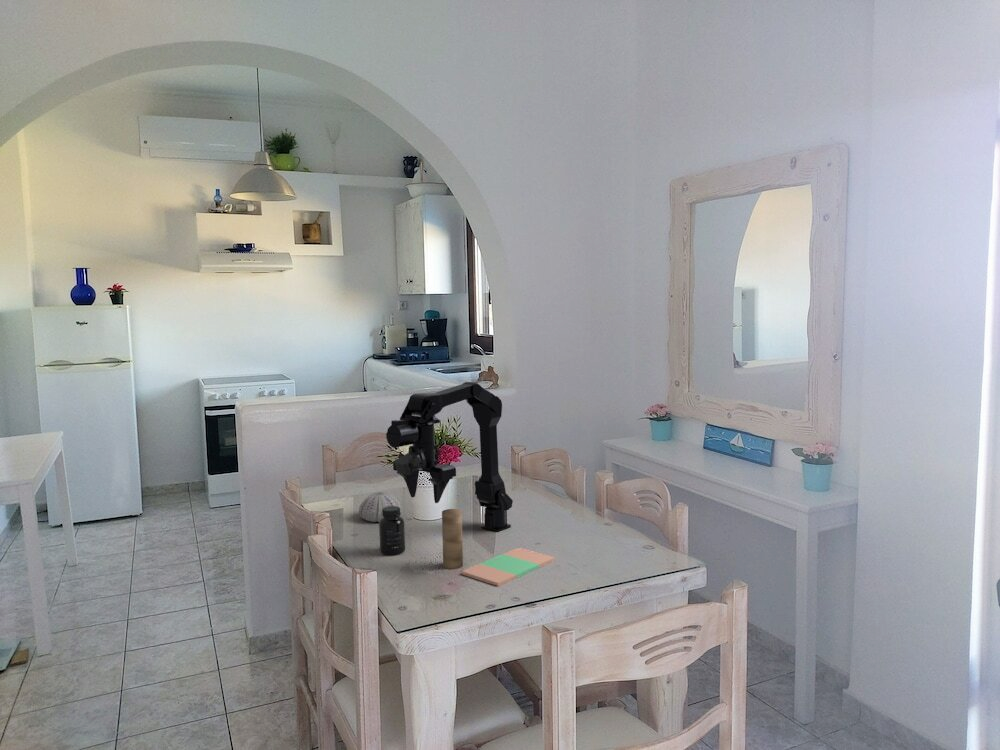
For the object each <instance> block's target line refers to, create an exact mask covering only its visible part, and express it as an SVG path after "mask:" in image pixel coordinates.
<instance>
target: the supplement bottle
mask: <svg viewBox="0 0 1000 750" xmlns="http://www.w3.org/2000/svg"><path fill="white" fill-rule="evenodd" d="M401 515H402V511H401V512H400V507H397V506H388V507H384V508H383V509H382V516H383V518H381V519H380V521H379V522H378V534H379V536H378V537H379V538H378V539H379V552H380V553H381V555H384V556H391V557H392V556H398V555H400V554H403V553H404V552H405V551H406V531H405V530H406V528H405V519H404V518H403V517H402V516H401Z"/></svg>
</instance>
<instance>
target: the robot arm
mask: <svg viewBox="0 0 1000 750" xmlns="http://www.w3.org/2000/svg"><path fill="white" fill-rule="evenodd" d="M463 401H466V403H467V404H468V405H469V406H470V407H471V409H472V414H473V417H474V419H475V422H477V424H478V426H479V444H480V464H481V466H480V467H481V475H480V477H479V478H478V480H475V482H474V488H475V492H474V495H476V499H477V500H478V503H479V506H480V507H484V518H483V519H484V524H482V525H481V527H480V528H482V529H486V530H489V531H493V532H500V531H503V530H505V529H508V528H510V527H512V524H510V523H509V524H508V511H509V510H510V509H511V508H512V507H513V501H514V500H513V499H512V498H511V497H510V496H509V495H508V494H507V492H506V486H505V482H504V480H503V478H502V476H501V475H500V474H499V473H500V471H499V451H498V450H499V449H498V432H497V431H498V430H497V429H498V427H497V426H498V424H499V421H500V420H501V418H502V412H503V403H502V399H500V398H499V397H498V396H497V395H494V394H493V393H492V392H490V391H489V390H487V389H486V388H484V387H482V385H481V384H479V383H478V382H470V381H469V382H468V381H465V382H463V383H462V384H461V383H460V384H458V385H455V386H452V387H449V388H446V389H442V390H439V391H436V392H422V393H421V392H420V393H418V392H417V393H413V394H411V395H410V396H409V399H408V402H407V403H406V406H405V408H404V410H403V412H402V414H401V416H400V418H399V420H396V419H395V420H391V424H390V426H389V427H388V428H387V430H386V434H385V437H386V442H387V443H388V445H389V446H390V447H391V448H394V449H396V448H401V447H406V446H408V453H406V454H403V455H402V456H401V457H399V458H397V459H395V460H394V461H393V463H392V465H393V467H392V470H393V471H396V473H397V474H398V475H400V476H401V477H402V478H403V480H404V482H405V484H406V487H407V491H408V493H409V496H410V497H411V498H414V497H416V494H417V489H418V488H417V487H418V480H419V473H420V472H424V473H429V476H430V477H431V478H429V481H430V482H431V483H432V486H433V499H434V504H438V503H439V502H440V501H441V498H442V497H443V496H442V495H443V494H444V492H445V489H446V487H447V485H448V484H449V482H450V480H452V479H454V477H456V476H457V468H456V466H454V465H452V464H448V463H442V464H439V460H438V459H436V458H435V450H438V447H439V445H438V444H435V425H436V424H440V423H441V420H440V419H439V418H437V416H436V415H437V414H439V413H441V412H442V410H443V409H444V408H446V407H448V406H450V405H453V404H456V403H460V402H463ZM409 445H410V446H409Z"/></svg>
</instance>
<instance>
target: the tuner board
mask: <svg viewBox="0 0 1000 750" xmlns="http://www.w3.org/2000/svg"><path fill="white" fill-rule="evenodd" d="M555 560H556V557H554V556H552V555H549V554H544V553H541V552H540V553H539V552H538V551H537V552H536V551H532V550H529V549H525V548H521V547H518V548H515V549H512V550H510V551H507V552H505V553H503V554H500V555H498V556H496V557H495V556H494V557H492V558H490V559H488V560H485V561H483V562H480V563H478V564H475V565H474V566H471V567H469V568H468V567H467V568H466V569H464V570H461V575H462V576H463V575H464V576H466V577H469V578H472V579H474V580H475V579H476V580H477V581H481V582H484V583H488V584H491V585H494V586H497V587H500V586H502V585H504V584H507V583H508V582H509V583H510V582H511V581H512V580H515V579H517V578H519V577H522V576H525V575H526V574H528V573H531V572H532V571H535V570H537V569H539V568H541V567H543V566H545V565H548V564H550V563H552V562H555Z"/></svg>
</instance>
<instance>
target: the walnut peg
mask: <svg viewBox="0 0 1000 750" xmlns="http://www.w3.org/2000/svg"><path fill="white" fill-rule="evenodd" d="M441 523H442V524H441V525H442V526H441V527H442V530H441V531H442V532H441V533H442V535H441V536H442V563H443V565H442V567H443V568H444V569H448V570H456V569H460V568H462V567H463V566H464V556H463V555H464V553H463V551H464V550H463V549H464V547H463V511H462V510H461V509H459V508H448V509H444V510H442V511H441Z"/></svg>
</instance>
